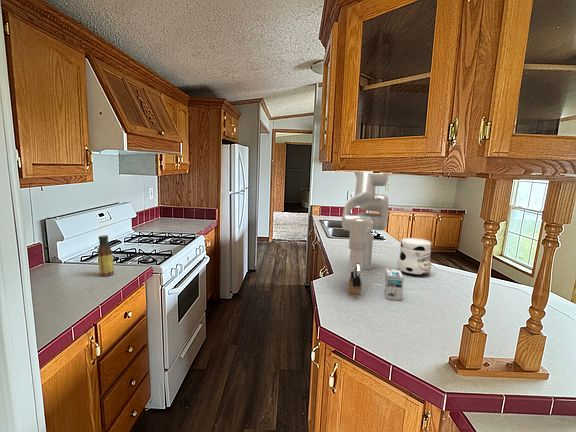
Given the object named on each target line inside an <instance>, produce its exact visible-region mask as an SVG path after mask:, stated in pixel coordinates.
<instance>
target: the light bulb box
mask: <svg viewBox="0 0 576 432" xmlns="http://www.w3.org/2000/svg"><path fill="white" fill-rule="evenodd" d="M402 273H403V272H402V271H401V270H399V269H393V268H385V280H384V281H385V283H384V293H385V298H386V299H387V300H393V301H394V300H395V301H403V290H404V289H403V288H404V279H405V277H404V275H403V274H402Z"/></svg>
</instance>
